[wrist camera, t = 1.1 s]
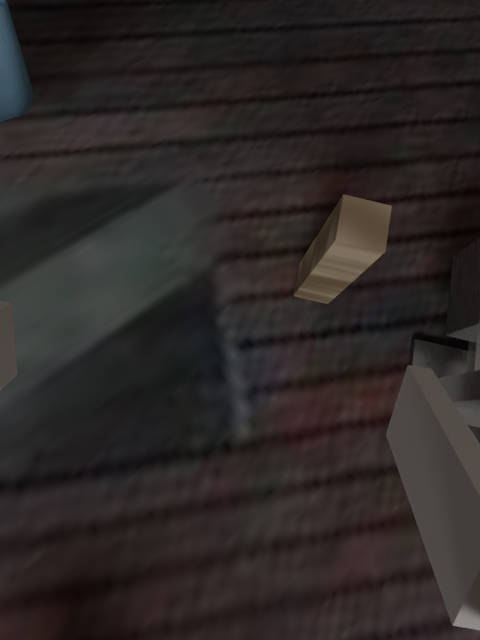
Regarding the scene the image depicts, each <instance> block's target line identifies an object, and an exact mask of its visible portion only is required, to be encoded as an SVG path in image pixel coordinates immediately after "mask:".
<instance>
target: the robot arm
mask: <svg viewBox="0 0 480 640" xmlns="http://www.w3.org/2000/svg"><path fill="white" fill-rule="evenodd" d="M32 97H33V90H32V86H31V82H30V79H29V75H28V72H27V68H26V65H25V61H24V58H23V55H22V51H21V48H20V44H19V41H18V37H17V34H16V31H15V27H14V24H13V20H12V17H11V14H10V10H9V7H8V4H7V0H0V122H2V121H5V120H9V119H12V118H15V117H19V116H21V115H22V114H23V113H25V112H26V111H27V109H28V108H29V106H30V104H31V102H32ZM15 376H17V360H16V345H15V330H14V315H13V303H12V302H6V301H0V390H1V389H2V388H3V387H5V386H6V385H7V384H8V383H9V382H10V381H11V380H12V379H13V378H14V377H15ZM386 436H387V439H388V441H389V444H390V447H391V450H392V453H393V456H394V459H395V462H396V464H397V467H398V470H399V473H400V476H401V479H402V482H403V485H404V487H405V490H406V493H407V496H408V499H409V502H410V505H411V508H412V511H413V513H414V516H415V519H416V522H417V525H418V528H419V531H420V534H421V536H422V539H423V542H424V545H425V548H426V551H427V554H428V557H429V559H430V562H431V565H432V568H433V571H434V574H435V577H436V580H437V582H438V585H439V588H440V591H441V594H442V597H443V600H444V603H445V605H446V608H447V611H448V614H449V617H450V620H451V623H452V625H453V626H459V627H464V628H470V629H476V630H480V444H479V442H478V441H477V439H476V438H475V436H474V434H473V433H472V431H471V430H470V428H469V427H468V425H467V423H466V422H465V420H464V419H463V417H462V416H461V414H460V412H459V411H458V409H457V408H456V406H455V405H454V403H453V401H452V400H451V398H450V397H449V395H448V394H447V392H446V390H445V389H444V387H443V386H442V384H441V383H440V381H439V380H438V378H437V376H436V375H435V373H434V372H433V370H432V369H431V368H424V367H418V366H411V365H408V366H407V370H406V373H405V376H404V379H403V382H402V385H401V389H400V392H399V395H398V398H397V401H396V404H395V407H394V411H393V414H392V417H391V420H390V423H389V426H388V430H387V433H386Z"/></svg>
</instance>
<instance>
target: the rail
mask: <svg viewBox="0 0 480 640" xmlns="http://www.w3.org/2000/svg"><path fill="white" fill-rule="evenodd" d="M391 208H392V206H390V205H386V204H381V203H377V202H373V201H369V200H365V199H361V198H356V197H352V196H348V195H344V194H343V196H342V197H341V199H340V201H339V202H338V204H337V205H336V207H335V208H334V210H333V212H332V213H331V215H330V216H329V218H328V219H327V221H326V222H325V224H324V226H323V227H322V229H321V230H320V232H319V233H318V235H317V236H316V238H315V240H314V241H313V243H312V244H311V246H310V247H309V249H308V251H307V252H306V254H305V255H304V257H303V258H302V260H301V261H300V263H299V268H298V274H297V279H296V284H295V289H294V295H293V296H295V297H300V298H304V299H308V300H313V301H317V302H321V303H326V304H328V303H329V302H331V301H332V300H333V299H334V298H335V297H336V296H337V295H338V294H339V293H340V292H342V291H343V290H344V289H345V288H346V287H347V286H348V285H349V284H350V283H352V282H353V281H354V280H355V279H356V278H357V277H358V276H359V275H360V274H361V273H363V272H364V271H365V270H366V269H367V268H368V267H369V266H370V265H371V264H372V263H374V262H375V261H376V260H377V259H378V258H379V257H380V256H381V255H382V254H383V253H385V250H386V243H387V236H388V229H389V222H390V215H391Z"/></svg>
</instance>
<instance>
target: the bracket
mask: <svg viewBox="0 0 480 640" xmlns="http://www.w3.org/2000/svg"><path fill="white" fill-rule="evenodd" d="M445 336H450V337H454V338H458V339H463V340H467V341H469V346H468V351H466V350H461V349H457V348H453V347H448V346H444V345H439V344H435V343H431V342H426V341H422V340H417V339H414V340H412V341H411V349H410V357H409V365H411V366H418V367H424V368H431V369H432V370H433V372H434V373H435V375H436V376H437V378H438V380H439V381H440V383H441V384H442V386H443V387H444V389H445V390H446V392H447V394H448V395H449V397H450V398H451V400H452V401H453V403H454V405H455V406H456V408H457V409H458V411H459V412H460V414H461V416H462V417H463V419H464V420H465V422H466V423H467V425H468V426H470V427H474V428H479V429H480V238H479V239H478V240H476V241H475V242H473V243H472V244H470V245H469V246H467V247H466V248H464V249H462V250H461V251H459V252H458V253H456V254H455V255H453V263H452V273H451V283H450V293H449V302H448V312H447V322H446V332H445Z"/></svg>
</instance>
